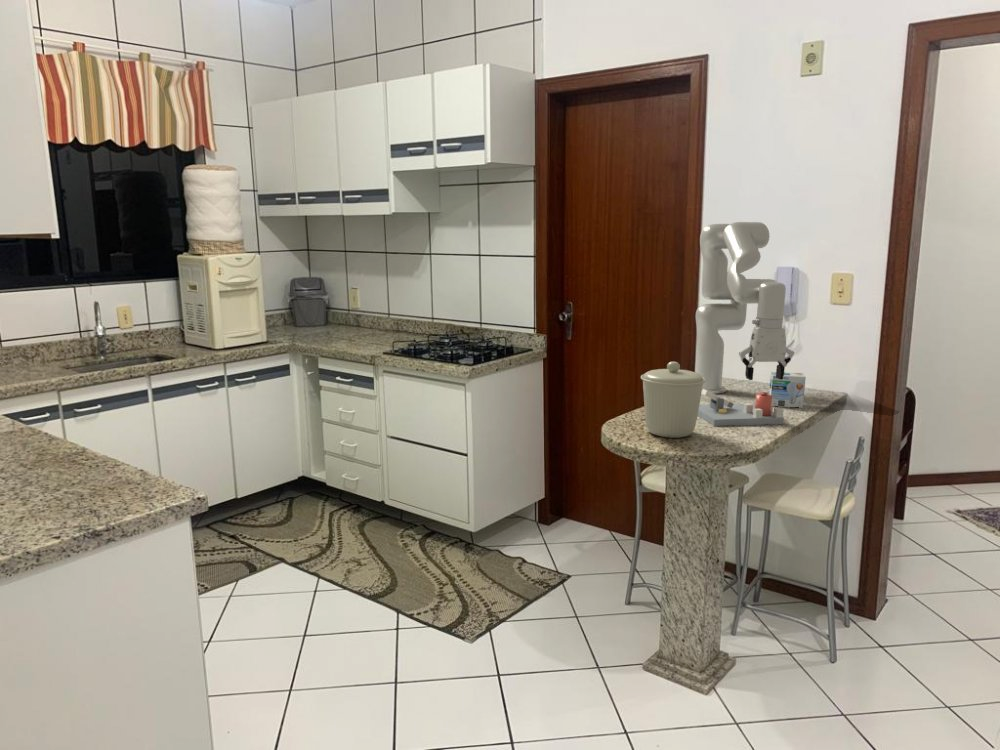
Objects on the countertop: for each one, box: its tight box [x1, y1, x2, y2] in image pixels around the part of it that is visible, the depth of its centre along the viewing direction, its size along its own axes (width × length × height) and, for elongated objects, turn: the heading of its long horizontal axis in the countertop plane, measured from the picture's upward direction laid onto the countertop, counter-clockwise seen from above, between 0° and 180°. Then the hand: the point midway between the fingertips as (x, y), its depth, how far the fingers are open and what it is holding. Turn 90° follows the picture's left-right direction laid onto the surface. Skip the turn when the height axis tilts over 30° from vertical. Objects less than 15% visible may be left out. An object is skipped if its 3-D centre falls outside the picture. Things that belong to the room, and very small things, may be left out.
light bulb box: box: [768, 371, 807, 409], centre depth 256 cm, size 11×7×11 cm, turn 76°
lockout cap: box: [754, 391, 772, 416], centre depth 236 cm, size 5×5×7 cm
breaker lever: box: [701, 389, 734, 408], centre depth 242 cm, size 4×10×2 cm, turn 97°
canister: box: [640, 361, 706, 439], centre depth 219 cm, size 18×18×21 cm
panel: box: [697, 394, 785, 427], centre depth 240 cm, size 19×22×6 cm
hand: (764, 378), depth 235 cm, fingers open, 9 cm apart
